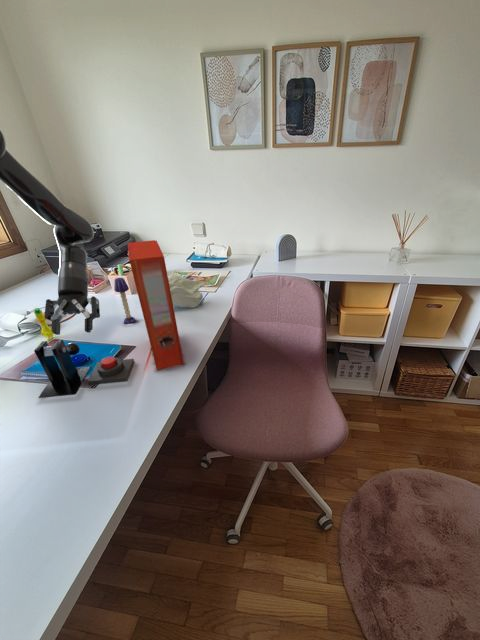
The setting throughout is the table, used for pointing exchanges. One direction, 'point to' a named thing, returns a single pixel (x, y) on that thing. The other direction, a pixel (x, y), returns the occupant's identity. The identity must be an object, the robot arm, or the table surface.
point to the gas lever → (71, 347)
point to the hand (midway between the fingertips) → (72, 333)
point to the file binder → (156, 302)
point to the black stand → (60, 371)
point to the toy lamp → (124, 299)
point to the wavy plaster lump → (185, 291)
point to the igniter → (108, 362)
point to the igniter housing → (111, 372)
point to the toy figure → (43, 323)
